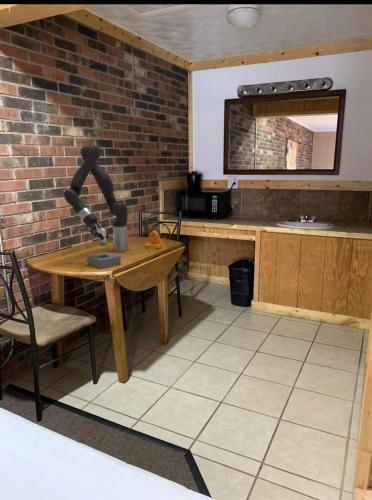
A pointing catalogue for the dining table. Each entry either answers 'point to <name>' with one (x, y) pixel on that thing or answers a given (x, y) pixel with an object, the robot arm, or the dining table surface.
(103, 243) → the steel pin
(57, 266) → the dining table surface
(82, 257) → the dining table surface
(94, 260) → the socket block
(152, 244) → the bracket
